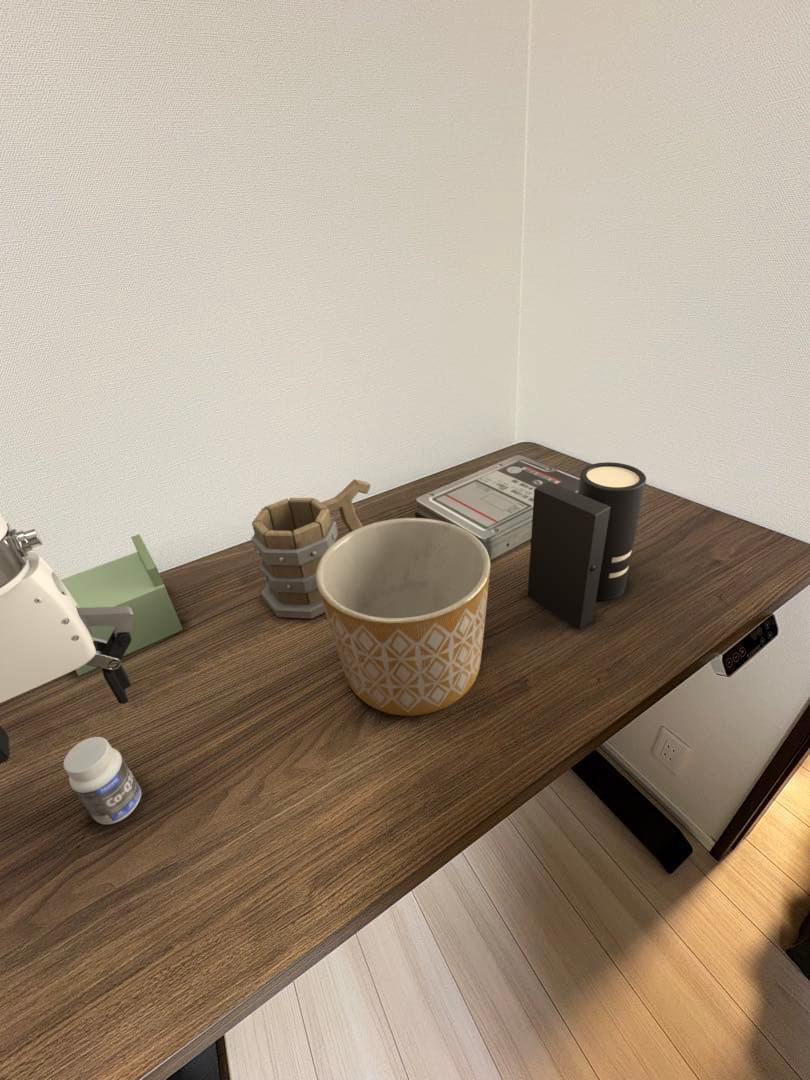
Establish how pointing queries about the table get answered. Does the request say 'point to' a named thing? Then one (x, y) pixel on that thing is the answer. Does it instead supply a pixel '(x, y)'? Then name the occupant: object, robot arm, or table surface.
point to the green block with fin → (127, 597)
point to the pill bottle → (102, 780)
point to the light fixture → (584, 540)
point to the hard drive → (494, 501)
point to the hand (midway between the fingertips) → (66, 721)
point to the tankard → (299, 548)
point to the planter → (407, 611)
